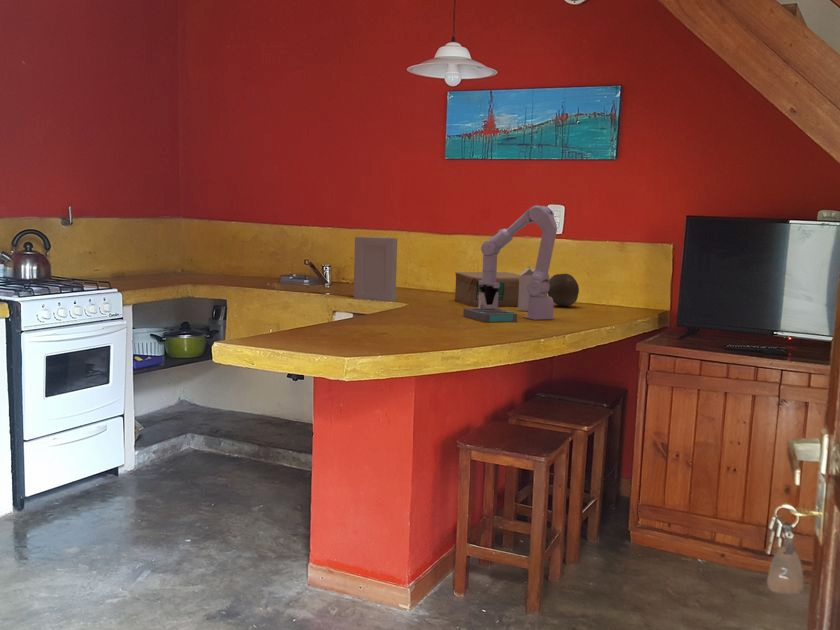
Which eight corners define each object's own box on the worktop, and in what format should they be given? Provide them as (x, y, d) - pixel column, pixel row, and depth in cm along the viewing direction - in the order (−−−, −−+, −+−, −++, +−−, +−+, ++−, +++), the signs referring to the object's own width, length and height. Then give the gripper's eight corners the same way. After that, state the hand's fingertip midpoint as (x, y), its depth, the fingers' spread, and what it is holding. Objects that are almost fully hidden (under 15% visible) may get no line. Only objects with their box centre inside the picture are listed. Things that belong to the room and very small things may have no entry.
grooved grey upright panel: (402, 298, 380) (404, 238, 376) (392, 301, 366) (394, 238, 362) (364, 295, 385) (366, 236, 382) (352, 298, 371) (354, 236, 368)
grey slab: (495, 309, 334) (496, 292, 333) (497, 309, 332) (498, 292, 332) (478, 309, 331) (479, 292, 330) (480, 309, 329) (481, 292, 328)
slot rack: (494, 315, 326) (495, 307, 326) (517, 321, 310) (517, 313, 309) (463, 316, 321) (463, 307, 321) (484, 322, 304) (484, 313, 304)
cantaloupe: (562, 304, 376) (564, 272, 374) (584, 308, 365) (586, 274, 363) (539, 305, 369) (541, 272, 367) (560, 309, 357) (562, 275, 355)
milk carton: (519, 311, 345) (521, 266, 342) (517, 309, 352) (519, 265, 349) (536, 311, 345) (538, 266, 342) (534, 309, 352) (536, 265, 349)
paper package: (472, 307, 354) (474, 275, 352) (452, 300, 378) (453, 270, 376) (529, 307, 362) (530, 276, 360) (505, 300, 386) (506, 271, 385)
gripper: (472, 269, 335) (471, 302, 336) (489, 272, 322) (487, 306, 323) (487, 269, 338) (486, 302, 339) (504, 272, 324) (503, 306, 326)
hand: (488, 304), depth 331 cm, fingers closed on grey slab, 2 cm apart
